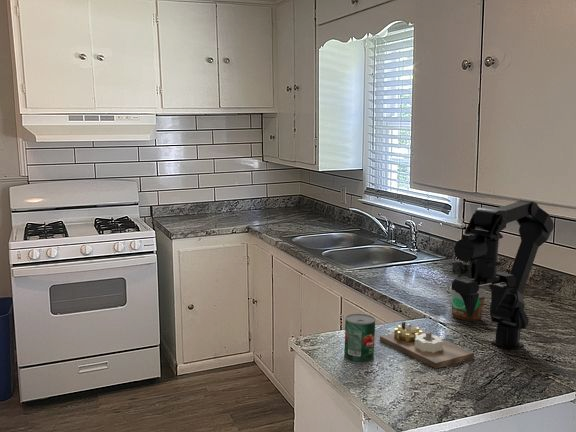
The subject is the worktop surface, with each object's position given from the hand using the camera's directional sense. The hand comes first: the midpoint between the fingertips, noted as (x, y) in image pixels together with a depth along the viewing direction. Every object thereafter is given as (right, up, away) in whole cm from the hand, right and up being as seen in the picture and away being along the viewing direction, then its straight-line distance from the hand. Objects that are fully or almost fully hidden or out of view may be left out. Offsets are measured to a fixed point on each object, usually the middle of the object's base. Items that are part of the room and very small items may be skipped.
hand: (481, 313), depth 158 cm
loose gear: (-13, -10, +4) cm, 17 cm away
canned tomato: (-33, -12, 0) cm, 35 cm away
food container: (+5, -7, +34) cm, 35 cm away
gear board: (-14, -11, +7) cm, 19 cm away
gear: (-17, -9, +11) cm, 22 cm away
